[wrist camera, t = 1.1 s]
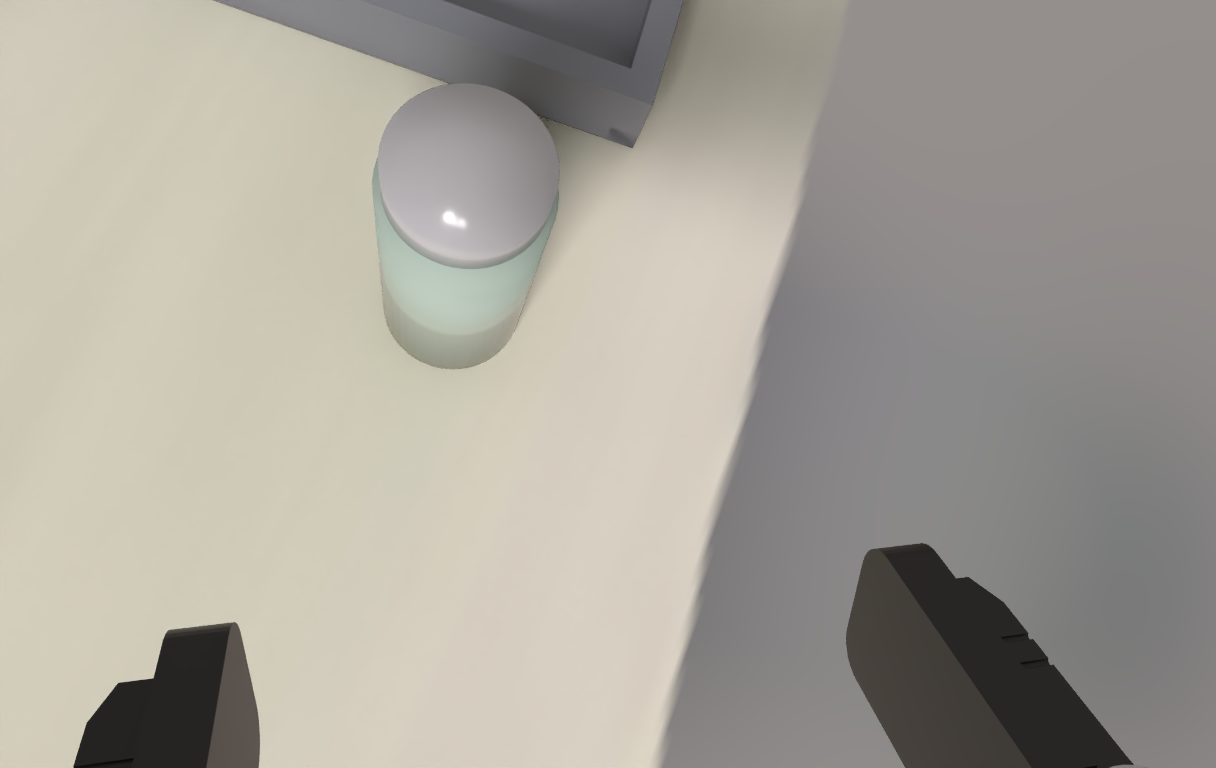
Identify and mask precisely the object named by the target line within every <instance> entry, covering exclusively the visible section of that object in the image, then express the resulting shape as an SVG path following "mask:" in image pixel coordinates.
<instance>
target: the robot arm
mask: <svg viewBox="0 0 1216 768" xmlns="http://www.w3.org/2000/svg"><path fill="white" fill-rule="evenodd" d="M846 645H847V653H848V658H849V662H850V666H851V669H852V671H853V674H854V676H855V678H856V680H857V682H858V684H859V685H860V687H861V689H862V691H863V692H864V694H865V696H866V698H867V700H868V702H869V703H870V705H871V707H872V709H873V711H874V712H875V714H876V716H877V718H878V720H879V721H880V723H881V725H882V727H883V728H884V730H885V732H886V734H887V735H888V737H889V739H890V741H891V743H892V745H893V746H894V748H895V750H896V752H897V754H898V755H899V757H900V759H901V761H902V763H903V764H904V766H905V768H1147V767H1143V766H1137V765H1134V764H1133V763H1132V762H1131V761H1130V760H1129V759H1128V757H1127V756H1126V755H1125V754H1124V752H1123V751H1122V750H1121V749H1120V747H1119V746H1118V745H1117V744H1116V742H1115V741H1114V740H1113V739H1112V737H1111V736H1110V735H1109V734H1108V732H1107V731H1106V730H1105V729H1104V728H1103V726H1102V725H1101V724H1100V722H1099V721H1098V720H1097V719H1096V717H1095V716H1094V715H1093V714H1092V713H1091V711H1090V710H1089V709H1088V708H1087V706H1086V705H1085V704H1084V703H1083V701H1082V700H1081V699H1080V697H1079V696H1078V695H1077V694H1076V692H1075V691H1074V690H1073V689H1072V687H1071V686H1070V685H1069V684H1068V682H1067V681H1066V680H1065V679H1064V677H1063V676H1062V675H1061V674H1060V672H1059V671H1058V670H1057V669H1056V667H1055V666H1054V665H1050V664H1049V662H1048V657H1047V656H1046V655H1045V654H1044V652H1043V651H1042V650H1041V648H1040V647H1039V646H1038V645H1037V643H1036V642H1035V641H1034V640H1033V639H1031V640H1030V639H1029V638H1028V632H1027V631H1026V630H1025V629H1024V627H1023V626H1022V625H1021V624H1020V622H1019V621H1018V620H1017V618H1016V617H1015V616H1014V615H1013V614H1012V612H1011V611H1010V610H1009V608H1008V607H1007V606H1006V605H1005V604H1004V602H1002V601H1001V600H1000V599H998V598H997V597H996V596H994V595H993V594H991V593H990V592H988V591H987V590H986V589H984V588H983V587H981V586H980V585H978V584H977V583H976V582H974V581H973V580H972V579H970V578H969V577H965V578H957V579H956V578H955V577H954V575H953V574H952V573H951V571H950V570H949V569H948V567H947V566H946V565H945V563H944V562H943V561H942V560H941V558H940V557H939V556H938V554H937V553H936V552H935V551H934V549H932V548H931V547H930V546H929V545H927V544H923V543H920V544H912V545H904V546H895V547H887V548H878V549H871V550H870V551H868V552H867V554H866V556H865V558H864V560H863V564H862V568H861V572H860V577H859V581H858V585H857V590H856V594H855V598H854V602H853V606H852V611H851V615H850V619H849V623H848V627H847V634H846ZM259 754H260V732H259V718H258V711H257V705H256V701H255V696H254V692H253V687H252V683H251V678H250V673H249V669H248V664H247V660H246V655H245V651H244V646H243V641H242V637H241V633H240V629H239V626H238V625H237V623H236V622H233V623H225V624H216V625H208V626H199V627H191V628H182V629H174V630H169V631H167V633H166V634H165V637H164V639H163V643H162V647H161V651H160V655H159V659H158V663H157V667H156V671H155V675H154V679H146V680H138V681H130V682H122V683H118V684H117V685H116V687H115V688H114V689H113V690H112V692H111V693H110V694H109V696H108V697H107V698H106V699H105V701H104V702H103V703H102V704H101V706H100V707H99V708H98V709H97V711H96V712H95V713H94V715H93V716H92V717H91V718H90V720H89V721H88V722H87V724H86V727H85V730H84V734H83V737H82V740H81V743H80V747H79V750H78V753H77V756H76V760H75V763H74V766H73V767H74V768H258V767H259Z"/></svg>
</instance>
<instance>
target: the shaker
mask: <svg viewBox="0 0 1216 768" xmlns="http://www.w3.org/2000/svg"><path fill="white" fill-rule="evenodd" d="M559 174H560V170H559V159H558V154H557V150H556V147H555V144H554V141H553V139H552V137H551V135H550V133H549V131H548V130H547V128H546V127H545V125H544V124H543V122H542V121H541V120H540V119H539V117H538V116H537V115H536V114H535V113H534V112H533V111H532V110H531V109H530V108H529V107H528V106H526V105H525V104H524V103H522V102H521V101H519V100H518V99H516V98H515V97H513V96H511V95H509V94H507V93H505V92H503V91H500V90H498V89H495V88H492V87H488V86H484V85H478V84H469V83H457V84H448V85H442V86H438V87H435V88H432V89H429V90H426V91H424V92H422V93H420V94H418V95H416V96H415V97H413V98H412V99H410V100H409V101H408V102H406V103H405V104H404V105H403V106H402V107H400V109H399V110H398V111H397V112H396V113H395V114H394V115H393V117H392V118H391V120H390V121H389V123H388V124H387V126H386V128H385V131H384V133H383V135H382V138H381V142H380V146H379V153H378V158H377V161H376V164H375V167H374V173H373V180H372V181H373V202H374V212H375V223H376V233H377V244H378V254H379V265H380V275H381V286H382V296H383V307H384V314H385V319H386V322H387V325H388V327H389V330H390V332H391V334H392V335H393V337H394V339H395V340H396V341H397V343H398V344H399V345H400V346H401V347H402V348H403V349H404V350H405V351H406V352H407V353H408V354H410V355H411V356H412V357H414V358H415V359H417V360H419V361H421V362H423V363H425V364H428V365H431V366H434V367H438V368H444V369H462V368H468V367H472V366H476V365H478V364H481V363H483V362H485V361H487V360H489V359H490V358H492V357H493V356H495V355H496V354H497V353H498V352H499V351H500V350H501V349H502V348H503V347H504V346H505V345H506V344H507V342H508V341H509V340H510V338H511V336H512V334H513V333H514V330H515V328H516V325H517V322H518V320H519V317H520V314H521V311H522V309H523V306H524V303H525V300H526V298H527V295H528V292H529V289H530V287H531V284H532V281H533V278H534V276H535V273H536V270H537V267H538V265H539V262H540V259H541V256H542V254H543V251H544V248H545V245H546V243H547V240H548V237H549V234H550V232H551V229H552V226H553V223H554V220H555V217H556V213H557V209H558V200H559V192H558V184H559Z"/></svg>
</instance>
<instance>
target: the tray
mask: <svg viewBox="0 0 1216 768" xmlns="http://www.w3.org/2000/svg"><path fill="white" fill-rule="evenodd" d="M214 1H217V2H220V3H223V4H226V5H229V6H231V7H234V8H237V9H240V10H243V11H246V12H249V13H251V14H254V15H257V16H260V17H263V18H266V19H268V20H271V21H274V22H277V23H280V24H283V25H285V26H288V27H291V28H294V29H297V30H300V31H302V32H305V33H308V34H311V35H314V36H317V37H319V38H322V39H325V40H328V41H331V42H334V43H336V44H339V45H342V46H345V47H348V48H351V49H353V50H356V51H359V52H362V53H365V54H368V55H370V56H373V57H376V58H379V59H382V60H385V61H387V62H390V63H393V64H396V65H399V66H402V67H404V68H407V69H410V70H413V71H416V72H419V73H421V74H424V75H427V76H430V77H433V78H436V79H438V80H441V81H444V82H447V83H450V84H457V83H469V84H478V85H484V86H488V87H492V88H495V89H498V90H500V91H503V92H505V93H507V94H509V95H511V96H513V97H515V98H516V99H518V100H519V101H521V102H522V103H524V104H525V105H526V106H528V107H529V108H530V109H531V110H532V111H533V112H534V113H535V114H538V115H540V116H543V117H546V118H549V119H552V120H555V121H557V122H560V123H563V124H566V125H569V126H572V127H574V128H577V129H580V130H583V131H586V132H589V133H592V134H594V135H597V136H600V137H603V138H606V139H609V140H611V141H614V142H617V143H620V144H623V145H626V146H628V147H631V148H633V146H634V144H635V142H636V139H637V137H638V135H639V133H640V131H641V129H642V127H643V125H644V123H645V121H646V118H647V116H648V114H649V112H650V110H651V108H652V106H653V103H654V99H655V96H656V92H657V89H658V85H659V82H660V79H661V75H662V72H663V68H664V65H665V61H666V58H667V55H668V51H669V48H670V44H671V41H672V37H673V34H674V31H675V27H676V24H677V20H678V17H679V13H680V10H681V7H682V3H683V0H214Z"/></svg>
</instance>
